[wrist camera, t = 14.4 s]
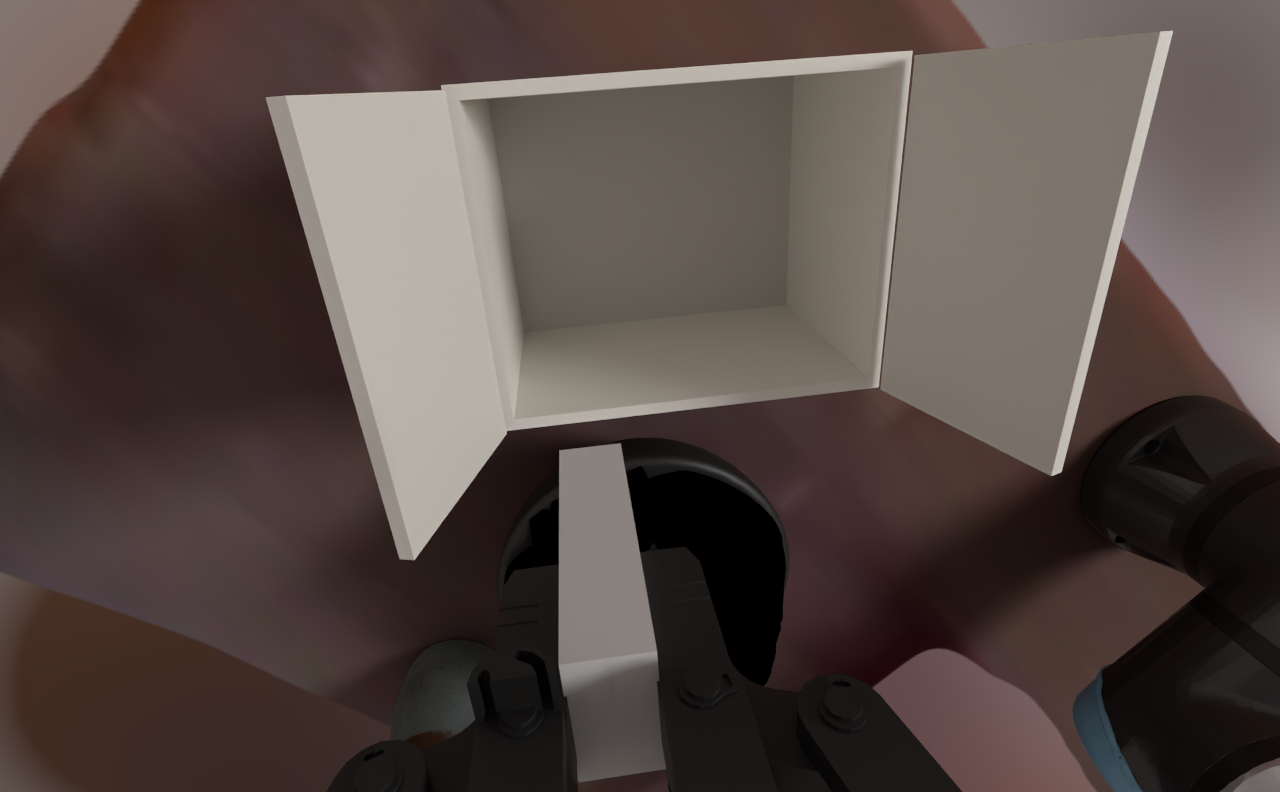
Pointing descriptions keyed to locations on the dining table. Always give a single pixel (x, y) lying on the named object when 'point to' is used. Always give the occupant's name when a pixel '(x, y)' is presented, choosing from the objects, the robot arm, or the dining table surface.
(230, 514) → the dining table surface
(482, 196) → the carton
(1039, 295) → the far flap
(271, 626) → the dining table surface
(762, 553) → the bowl of black rocks
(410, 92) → the near flap
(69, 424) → the dining table surface
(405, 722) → the bottle
